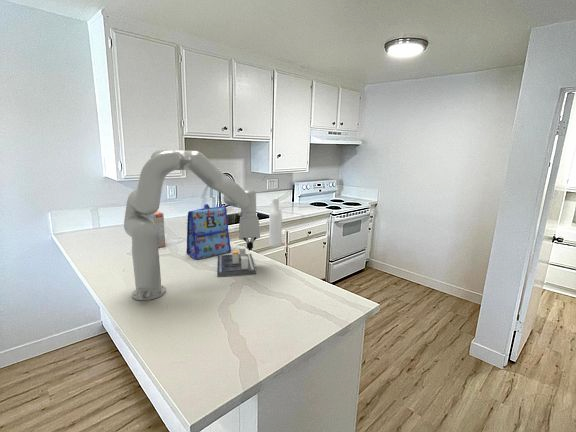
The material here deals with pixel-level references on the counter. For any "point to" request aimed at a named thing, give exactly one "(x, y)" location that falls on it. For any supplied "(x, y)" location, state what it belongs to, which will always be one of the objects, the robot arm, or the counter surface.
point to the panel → (234, 266)
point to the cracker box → (159, 227)
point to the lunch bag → (207, 232)
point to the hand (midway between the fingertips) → (250, 249)
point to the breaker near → (244, 262)
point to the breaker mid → (235, 256)
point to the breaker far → (242, 251)
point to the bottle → (275, 225)
